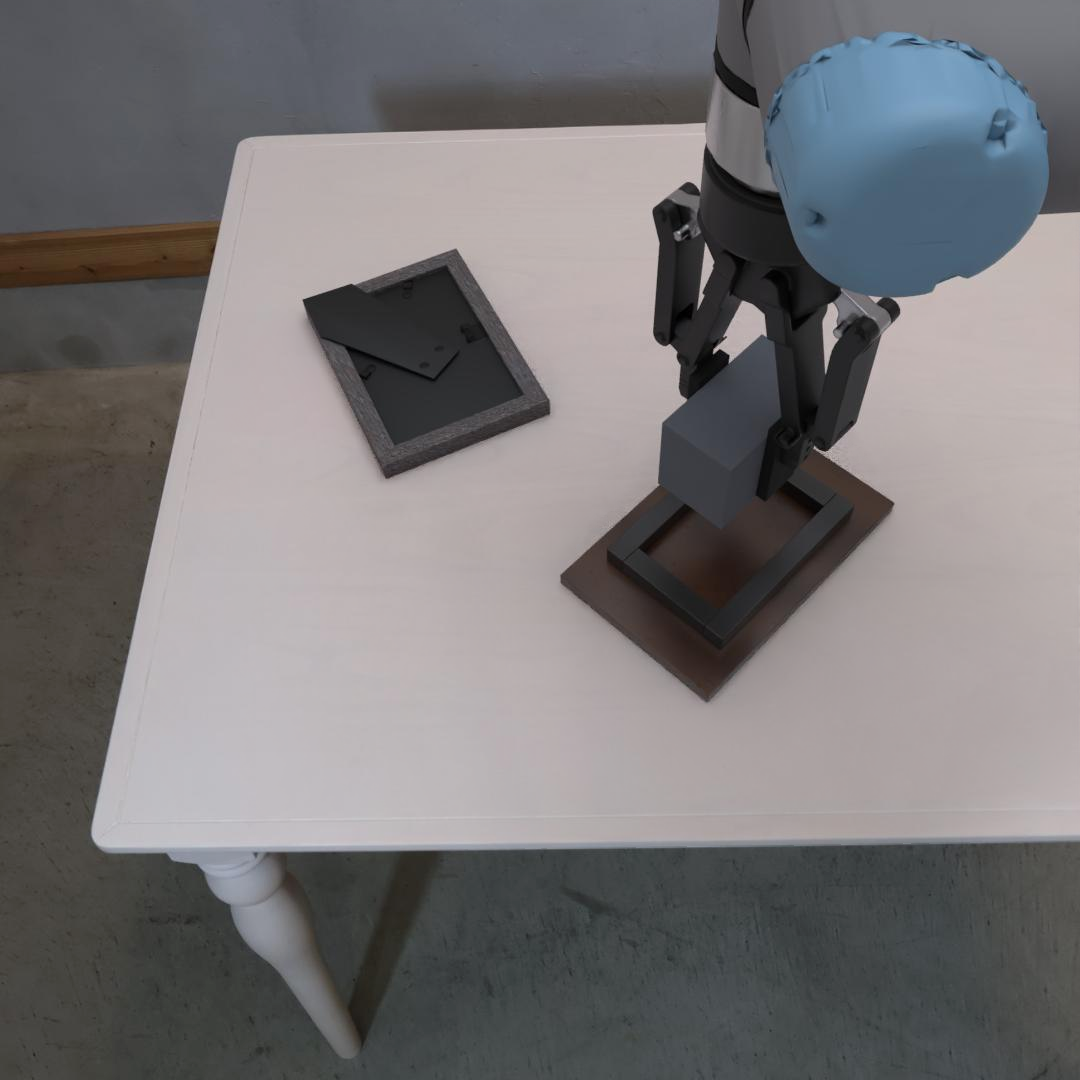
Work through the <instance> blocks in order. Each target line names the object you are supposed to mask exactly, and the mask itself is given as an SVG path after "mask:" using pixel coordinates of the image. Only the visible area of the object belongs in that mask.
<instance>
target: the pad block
mask: <svg viewBox="0 0 1080 1080" xmlns="http://www.w3.org/2000/svg"><path fill="white" fill-rule="evenodd" d="M825 376H826V373H825ZM780 418H781V410H780V399H779V389H778V378H777V368H776V358H775V347H774V342H773V341H770V340H768V339H767V335H764V334H763V333H762V334H760V335H759V336H758V337H757V338H756V339H755V340H753V341H752V342H751V343H750V344H748V346H747V347H746V348H744V349H743V350H741V352H740V353H739V354H738V355H737V356H735V357H734V358H733V359H732V360H731V361H729V364H728V365H727V366H726V367H725V368H723V369H722V370H721V371H720V372H719V373H718V374H717V375H716V376H714V377H713V378H712V379H711V380H710V381H709V382H708V383H707V384H705V385H704V386H703V387H702V388H701V389H700V390H699V391H697V392H696V393H695V394H694V395H693V396H692V397H691V398H689V399H688V400H687V399H686V401H685V402H684V403H683V404H681V405H680V406H679V407H678V408H677V409H676V410H675V411H673V412H672V413H671V414H670V415H669V416H667V418H666V419H664V421H662V423H661V435H660V449H659V461H658V476H657V484H658V485H661V486H662V487H664V488H665V489H666V490H668V491H669V492H671V493H672V494H673V495H675V496H676V497H677V498H679V499H680V500H681V501H683V502H684V503H686V504H687V505H688V506H690V507H691V508H692V509H694V510H695V511H696V512H698V513H699V514H701V515H702V516H703V517H705V518H706V519H707V520H709V521H710V522H711V523H713V524H714V525H716V526H717V527H718V528H720V529H722V528H724V527H725V526H726V525H727V524H728V523H729V522H730V521H731V520H732V519H733V518H734V517H735V516H736V515H737V514H738V513H739V512H740V511H741V510H742V509H743V508H744V507H745V506H746V505H747V504H748V503H749V502H750V501H751V500H752V499H754V498H755V497H756V490H757V485H758V481H759V476H760V471H761V466H762V461H763V456H764V451H765V446H766V441H767V435H768V430H769V428H770V427H771V426H772V425H773V424H774V423H775V422H776V421H777V420H778V419H780Z"/></svg>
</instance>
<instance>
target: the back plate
mask: <svg viewBox="0 0 1080 1080" xmlns="http://www.w3.org/2000/svg"><path fill="white" fill-rule="evenodd" d="M894 506H895V502H894V501H892V500H891V499H890V498H889V497H887V496H886V495H884V494H882V493H881V492H880V491H878V490H876V489H875V488H873V487H871V486H870V485H869V484H867V483H866V482H864V481H863V480H861V479H860V478H858V477H857V476H855V475H854V474H852V473H851V472H850V471H848V470H846V469H845V468H843V467H842V466H841V465H839V464H838V463H836V462H835V461H833V460H831V459H830V458H829V457H827V456H826V455H824V454H822V453H821V452H820V451H818V450H816V449H815V448H814V449H813V452H812V454H811V455H810V456H809V457H808V458H807V459H806V460H805V461H804V462H803V463H802V464H801V465H800V466H799V467H798V468H797V469H795V470H794V473H793V475H792V476H791V477H790V478H789V479H788V480H787V481H786V482H785V483H784V484H783V485H782V486H781V487H780V488H779V489H778V490H777V491H776V492H775V493H774V494H773V495H772V496H771V497H770V498H769V499H768V500H767V501H766V502H764V501H763V500H762V499H760V498H759V497H757V496H756V497H755V498H754V499H752V500H751V501H750V502H749V503H748V504H747V505H746V506H745V507H744V508H743V509H742V510H741V511H740V512H739V513H738V514H737V515H736V516H735V517H734V518H733V519H732V520H731V521H730V522H729V523H728V524H727V525H726V526H725V527H724V528H722V529H720V528H718V527H717V526H716V525H714V524H713V523H711V522H710V521H709V520H707V519H706V518H705V517H703V516H702V515H701V514H699V513H698V512H696V511H695V510H694V509H692V508H691V507H690V506H688V505H687V504H686V503H684V502H683V501H681V500H680V499H679V498H677V497H676V496H675V495H673V494H672V493H671V492H669V491H668V490H666V489H665V488H664V487H662V486H661V485H660V484H658V486H656V487H655V488H654V489H653V490H652V491H651V492H649V494H647V495H646V496H645V497H644V498H643V499H642V500H641V501H639V503H637V504H636V506H634V507H633V508H632V509H631V510H630V511H629V512H628V513H627V514H626V515H624V516H623V518H621V520H619V521H618V522H617V523H616V524H615V525H613V526H612V527H611V528H610V529H609V530H608V531H607V532H606V533H605V534H604V535H603V536H601V537H600V538H599V539H597V541H596V542H594V544H592V546H590V547H589V548H588V549H587V550H586V551H585V552H584V553H583V554H581V556H579V558H578V559H577V560H575V561H574V562H573V563H572V564H571V565H570V566H568V567H567V569H565V570H564V571H563V572H562V573H561V574H560V583H561V584H562V585H563V586H565V587H566V588H567V589H568V590H570V591H571V593H573V594H574V595H576V596H577V597H578V598H579V599H580V600H582V601H583V602H584V603H585V604H586V605H588V606H589V607H590V608H591V609H592V610H593V611H595V612H596V613H597V614H598V615H600V616H601V617H602V618H604V619H605V620H606V621H607V622H608V623H610V624H611V625H612V626H613V627H615V628H616V629H617V630H618V631H619V632H621V633H622V634H623V635H624V636H625V637H627V638H628V639H629V640H630V641H631V642H633V643H634V644H635V645H636V646H638V647H639V648H640V649H641V650H642V651H644V652H645V653H646V654H648V655H649V656H650V657H651V658H652V659H653V660H655V661H656V662H657V663H659V664H660V665H661V666H662V667H663V668H665V669H666V670H667V671H669V672H670V673H671V674H672V675H674V677H675V678H676V679H678V680H679V681H680V682H682V683H683V684H684V685H685V686H687V687H688V688H689V689H690V690H691V691H693V692H694V693H695V694H696V695H698V697H700V698H701V699H702V700H704V701H705V703H708V702H709V701H710V700H711V699H712V698H714V696H715V695H716V694H717V693H718V692H719V691H720V690H721V689H722V688H723V686H725V685H726V684H727V683H728V682H729V680H731V678H732V677H734V675H735V674H736V673H737V672H738V671H739V670H740V669H741V668H742V667H743V666H744V665H745V664H746V663H747V662H748V661H749V660H750V659H751V658H752V656H754V655H755V653H757V651H758V650H759V649H760V648H761V647H762V646H764V644H766V642H767V641H768V640H769V639H770V638H771V637H772V636H773V635H774V634H775V633H776V632H777V631H778V629H780V628H781V626H782V625H784V623H785V622H786V621H788V620H789V618H790V617H791V616H793V614H794V613H795V612H796V611H797V610H798V609H799V608H800V607H801V606H802V605H803V603H805V602H806V600H807V599H809V598H810V597H811V595H812V594H813V593H815V591H816V590H817V589H818V588H819V587H820V586H821V585H822V584H823V583H824V582H825V581H826V580H827V579H828V578H829V577H830V576H831V574H833V572H834V571H835V570H836V569H837V568H838V567H840V565H841V564H842V563H843V562H844V561H845V560H846V559H847V558H848V557H849V556H850V555H851V554H852V553H853V552H854V551H855V550H856V549H857V548H858V547H859V546H860V545H861V543H862V542H864V540H866V539H867V537H869V536H870V534H871V533H872V532H873V531H874V530H875V529H876V528H877V527H878V526H879V525H880V524H881V523H882V522H883V521H884V520H885V518H886V517H888V515H890V513H891V512H892V511H893V509H894Z"/></svg>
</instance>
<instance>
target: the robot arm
mask: <svg viewBox="0 0 1080 1080" xmlns="http://www.w3.org/2000/svg"><path fill="white" fill-rule="evenodd" d="M717 13H718V14H717V24H716V35H715V42H714V43H715V44H714V51H713V53H712V59H711V60H712V61H711V71H710V78H709V79H710V80H709V81H710V82H709V89H708V90H709V91H708V100H707V109H706V117H705V128H704V134H705V144H704V150H703V159H702V169H701V179H700V189H699V187H698V186H697V185H696V184H695V183H693V182H691V181H686V182H684V183H683V184H682V185H681V186H679V187H678V188H677V189H675V190H674V191H672V192H671V193H670V194H669V195H667V196H666V197H665V198H664V199H663V200H661V201H660V202H659V203H657V204H656V205H655V206H654V207H653V208H652V218H653V223H654V226H655V231H656V235H657V240H658V244H659V245H658V255H657V258H658V259H657V269H656V283H655V284H656V285H655V300H654V314H653V327H652V335H653V338H654V340H655V341H656V342H657V343H658V344H659V345H660V346H662V347H667V346H669V345H670V346H671V347H672V348H673V349H674V350H675V352H677V353H676V360H677V362H678V364H679V365H680V367H679V377H678V379H679V380H678V381H679V382H678V392H679V395H680V396H681V397H682V398H684V399H686V401H687V400H688V399H689V398H691V397H692V396H693V395H694V394H695V393H696V392H697V391H699V390H700V389H701V388H702V387H703V386H704V385H705V384H707V383H708V382H709V381H710V380H711V379H712V378H713V377H714V376H716V375H717V374H718V373H719V372H720V371H721V370H722V369H723V368H725V367H726V366H727V365H728V364H729V363H730V357H731V355H730V354H729V353H727V352H726V351H724V350H723V349H721V348H718V349H717V350H716V351H715V352H714V350H715V349H716V348H717V347H718V346H720V345H721V343H723V342H724V341H725V340H726V339H727V338H728V336H727V335H725V334H726V332H727V331H728V329H729V327H730V325H731V323H732V321H733V319H734V317H735V315H736V313H738V310H739V308H740V306H741V304H742V302H745V303H748V304H751V305H753V306H754V307H755V308H757V310H759V311H760V312H761V313H762V314H763V316H764V323H765V333H766V335H765V336H766V337H767V339H768V340H770V341H773V342H774V347H775V358H776V368H777V378H778V389H779V399H780V410H781V418H780V419H778V420H777V421H776V422H775V423H774V424H773V425H772V426H771V427H770V428H769V430H768V435H767V441H766V446H765V451H764V456H763V461H762V466H761V471H760V476H759V481H758V485H757V490H756V496H757V497H759V498H760V499H762V500H763V501H764V502H766V501H767V500H768V499H769V498H770V497H771V496H772V495H773V494H774V493H775V492H776V491H777V490H778V489H779V488H780V487H781V486H782V485H783V484H784V483H785V482H786V481H787V480H788V479H789V478H790V477H791V476H792V475H793V473H794V470H795V469H797V468H798V467H799V466H800V465H801V464H802V463H803V462H804V461H805V460H806V459H807V458H808V457H809V456H810V455H811V454H812V452H813V449H815V448H816V449H817V450H819V451H820V452H829V450H830V449H832V448H833V447H834V446H835V445H836V444H837V443H838V442H839V441H840V440H841V439H842V438H843V437H844V436H845V435H846V434H847V433H848V432H849V431H850V430H851V429H852V428H853V427H854V426H855V425H856V424H857V422H858V419H859V415H860V412H861V410H862V409H861V408H862V405H863V401H864V397H865V394H866V391H867V388H868V384H869V381H870V377H871V374H872V370H873V366H874V363H875V360H876V356H877V352H878V349H879V346H880V343H881V339H882V335H883V334H884V332H885V331H886V330H888V328H890V327H891V326H892V324H893V323H895V321H896V320H897V319H898V318H899V317H900V316H901V307H900V305H899V303H898V302H897V301H896V300H895V299H896V298H897V299H898V298H909V297H917V296H924V295H927V294H931V293H933V292H934V291H935V289H936V286H937V285H938V284H941V283H944V282H946V281H949V280H951V279H955V278H957V277H960V278H963V279H967V280H968V279H970V278H972V277H975V276H977V275H980V274H981V273H982V272H984V271H986V270H987V269H989V268H991V267H992V266H994V265H995V264H996V263H998V262H999V261H1001V259H1003V258H1004V257H1006V255H1007V254H1008V253H1010V251H1012V250H1013V249H1014V248H1015V247H1016V246H1017V245H1018V244H1019V243H1020V242H1021V241H1022V240H1023V238H1024V237H1025V235H1026V234H1027V233H1028V231H1029V230H1030V229H1031V228H1032V226H1033V225H1034V223H1035V222H1036V220H1037V218H1038V217H1039V216H1041V215H1058V214H1073V213H1074V214H1075V213H1080V0H719V1H718V12H717ZM706 247H707V249H708V251H709V254H710V256H711V258H712V260H713V264H712V269H711V273H710V274H709V277H708V279H707V281H706V283H705V285H704V288H703V289H702V292H701V293H702V295H703V297H702V300H701V302H700V304H699V300H700V291H701V285H702V284H701V283H702V282H701V281H702V276H703V266H704V260H705V259H704V258H705V250H706ZM871 297H874V298H879V300H878V301H877V302H875V301H874V300H873V299H872V298H871ZM894 298H895V299H894ZM830 304H833V305H834V306H835V309H836V310H837V316H836V317H837V318H836V327H834V328H833V330H832V334H833V336H834V338H836V339H837V341H836V342H835V343H834V346H833V348H832V349H831V352H830V356H829V359H828V363H827V367H826V363H825V343H824V326H823V322H824V318H825V317H826V315H827V312H828V309H829V305H830ZM825 374H826V376H825Z"/></svg>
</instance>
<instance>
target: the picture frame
mask: <svg viewBox="0 0 1080 1080" xmlns="http://www.w3.org/2000/svg"><path fill="white" fill-rule="evenodd" d="M301 301H302V303H303V304H302V305H303V307H304V310H305V313H306V317H307V318H308V321H309V323H310V326H311V327H312V329H313V331H314V333H315V335H316V337H317V340H318V341H319V343H320V346H321V348H322V350H323V352H324V354H325V356H326V358H327V360H328V362H329V364H330V367H331V368H332V371H333V372H334V374H335V377H336V379H337V381H338V382H339V385H340V387H341V389H342V391H343V393H344V395H345V398H346V399H347V402H348V403H349V406H350V408H351V410H352V412H353V414H354V416H355V418H356V420H357V422H358V424H359V426H360V428H361V431H362V432H363V434H364V436H365V438H366V440H367V442H368V444H369V447H370V449H371V451H372V453H373V455H374V457H375V459H376V461H377V463H378V465H379V467H380V469H381V472H382V473H383V475H384V477H385V479H389V478H392V477H394V476H396V475H397V476H398V475H399V474H402V473H404V472H407V471H410V470H412V469H414V468H417V467H419V466H422V465H424V464H427V463H430V462H432V461H434V460H437V459H440V458H442V457H445V456H448V455H449V454H452V453H455V452H457V451H459V450H462V449H466V448H467V447H470V446H472V445H475V444H478V443H480V442H482V441H484V440H487V439H490V438H492V437H495V436H497V435H500V434H503V433H505V432H507V431H510V430H512V429H515V428H517V427H521V426H523V425H526V424H528V423H531V422H533V421H536V420H537V419H541V418H543V417H546V416H548V415H551V404H550V403H551V402H550V399H549V396H547V394H546V392H545V391H544V388H543V387H542V385H541V384H540V382H539V381H538V379H537V377H536V376H535V374H534V372H533V370H532V369H531V367H530V366H529V364H528V362H527V361H526V359H525V358H524V356H523V355H522V353H521V351H520V350H519V347H518V346H517V344H516V343H515V342H514V340H513V338H512V337H511V335H510V333H509V332H508V330H507V329H506V326H505V325H504V323H503V322H502V321H501V319H500V317H499V315H498V314H497V312H496V311H495V309H494V307H493V306H492V304H491V303H490V301H489V299H488V298H487V296H486V294H485V292H484V291H483V289H482V288H481V286H480V284H479V283H478V281H477V280H476V278H475V277H474V275H473V273H472V271H471V269H470V268H469V267H468V264H467V263H466V262H465V260H464V258H463V257H462V255H461V254H460V252H459V250H458V249H457V248H453V249H450V250H447V251H444V252H442V253H439V254H437V255H433V256H430V257H428V258H425V259H423V260H420V261H416V262H414V263H411V264H409V265H406V266H403V267H400V268H397V269H395V270H392V271H389V272H387V273H384V274H381V275H378V276H375V277H372V278H370V279H367V280H364V281H361V282H359V283H355V284H354V283H348V284H346V285H343V286H340V287H337V288H333V289H331V290H327V291H324V292H321V293H317V294H315V295H312V296H308V297H306V298H302V300H301Z"/></svg>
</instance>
